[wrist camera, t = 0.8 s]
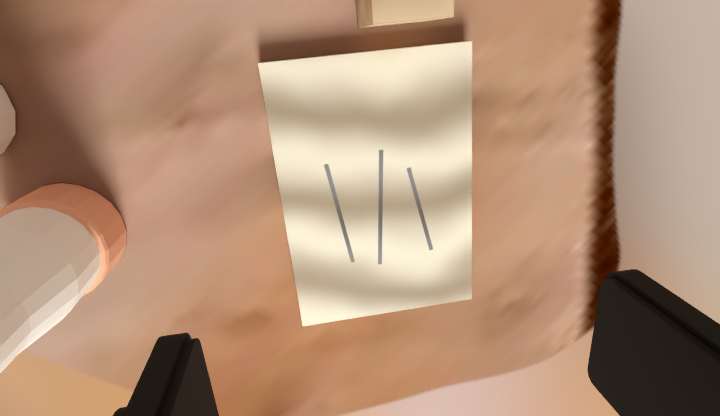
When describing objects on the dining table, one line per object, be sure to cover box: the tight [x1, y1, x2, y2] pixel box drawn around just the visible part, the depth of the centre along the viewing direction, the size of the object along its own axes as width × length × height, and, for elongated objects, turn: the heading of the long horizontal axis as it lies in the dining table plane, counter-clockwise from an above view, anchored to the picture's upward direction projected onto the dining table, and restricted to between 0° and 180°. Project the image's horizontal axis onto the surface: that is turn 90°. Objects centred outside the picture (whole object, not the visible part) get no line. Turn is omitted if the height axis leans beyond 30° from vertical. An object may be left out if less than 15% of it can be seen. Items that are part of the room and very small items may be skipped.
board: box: [258, 41, 472, 326], centre depth 32 cm, size 20×14×2 cm
